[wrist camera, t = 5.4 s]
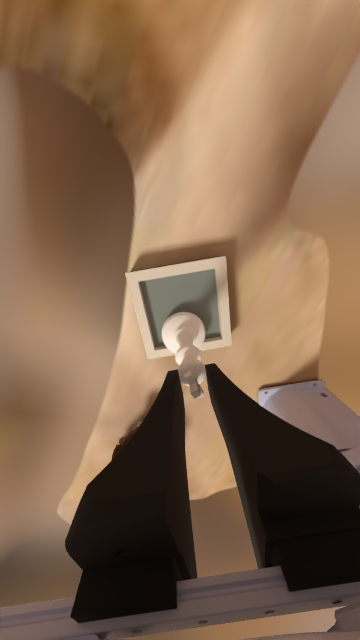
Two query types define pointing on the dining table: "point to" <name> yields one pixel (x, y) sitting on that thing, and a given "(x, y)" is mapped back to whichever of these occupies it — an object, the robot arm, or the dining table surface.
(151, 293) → the picture frame
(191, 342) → the chess piece
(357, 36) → the dining table surface
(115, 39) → the dining table surface
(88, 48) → the dining table surface
